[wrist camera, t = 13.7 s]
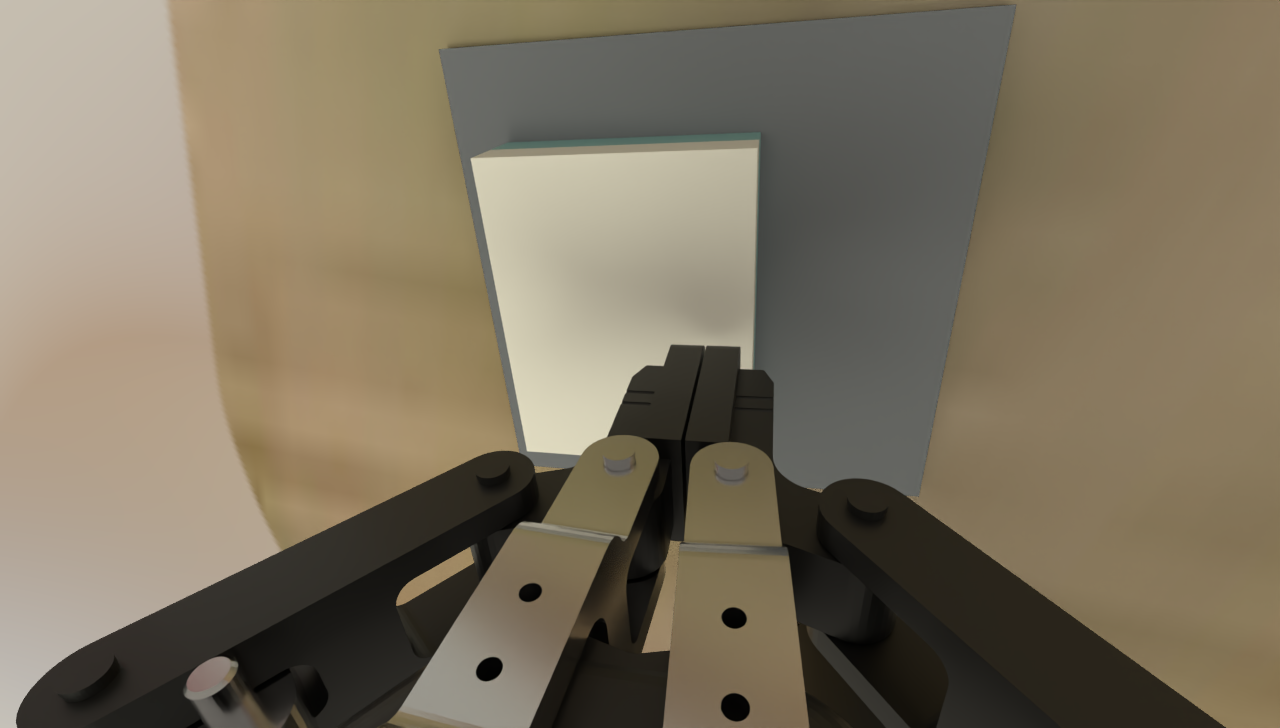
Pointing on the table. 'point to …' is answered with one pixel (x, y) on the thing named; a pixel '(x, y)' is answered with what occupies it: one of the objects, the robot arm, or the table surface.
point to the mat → (794, 197)
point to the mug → (832, 686)
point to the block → (616, 266)
